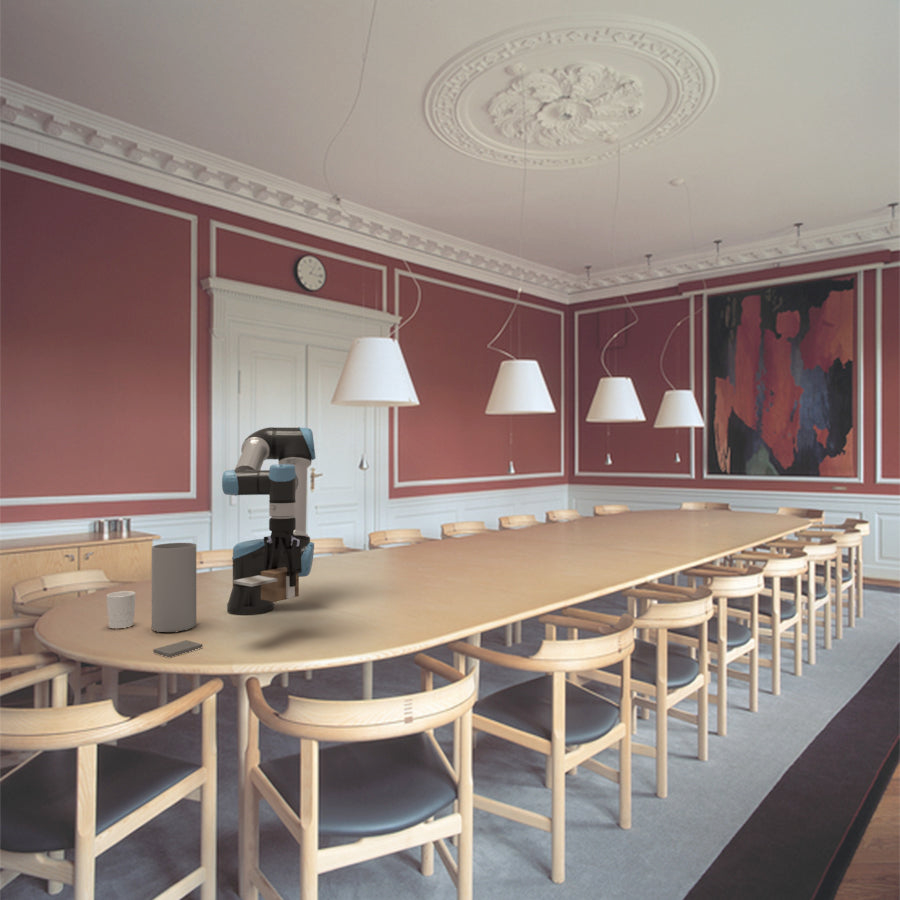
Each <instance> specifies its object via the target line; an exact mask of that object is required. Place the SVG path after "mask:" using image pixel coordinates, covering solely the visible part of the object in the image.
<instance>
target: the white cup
mask: <svg viewBox="0 0 900 900" xmlns="http://www.w3.org/2000/svg"><path fill="white" fill-rule="evenodd" d="M106 605H107V607H106V608H107V611H106V612H107V619H108V628H109V627H110V628H124V627H128V626H131V625H133V626H134V618H135V608H136V592H135V591H133V590H132V591H129V590H123V591H115V592H110V593H108V594H106ZM110 628H109V629H110ZM124 629H125V628H124Z"/></svg>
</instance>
